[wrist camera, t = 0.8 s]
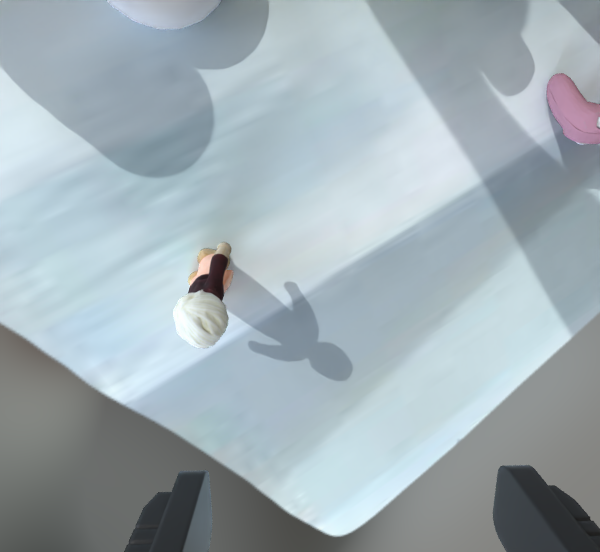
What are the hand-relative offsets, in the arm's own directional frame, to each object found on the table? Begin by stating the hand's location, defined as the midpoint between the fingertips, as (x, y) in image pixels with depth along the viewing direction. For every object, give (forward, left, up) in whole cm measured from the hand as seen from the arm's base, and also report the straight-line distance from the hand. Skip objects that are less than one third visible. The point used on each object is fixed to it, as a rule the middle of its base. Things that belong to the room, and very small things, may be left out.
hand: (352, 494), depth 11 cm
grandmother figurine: (-3, -4, -27) cm, 27 cm away
